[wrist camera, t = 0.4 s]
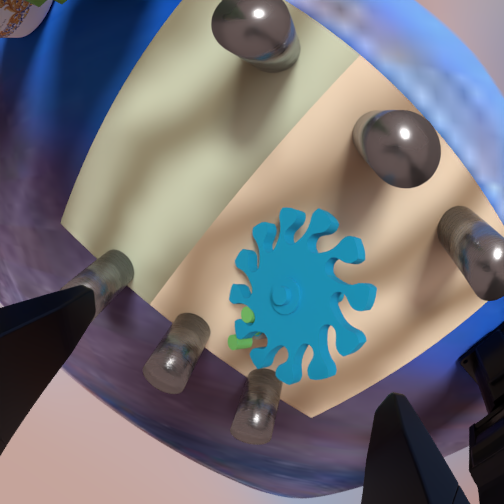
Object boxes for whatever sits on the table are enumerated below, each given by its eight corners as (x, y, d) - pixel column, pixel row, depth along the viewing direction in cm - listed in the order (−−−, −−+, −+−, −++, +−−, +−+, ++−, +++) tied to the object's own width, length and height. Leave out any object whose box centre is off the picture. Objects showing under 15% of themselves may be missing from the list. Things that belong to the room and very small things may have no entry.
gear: (306, 165, 16) (399, 341, 11) (359, 193, 20) (433, 326, 15) (199, 273, 22) (241, 410, 18) (258, 278, 26) (301, 391, 22)
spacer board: (522, 263, 17) (524, 265, 16) (311, 414, 28) (311, 417, 27) (216, -35, 13) (215, -37, 13) (63, 221, 24) (60, 223, 24)
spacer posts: (484, 229, 16) (528, 272, 11) (266, 395, 27) (253, 447, 22) (268, 14, 14) (243, -23, 9) (98, 266, 25) (55, 303, 19)
